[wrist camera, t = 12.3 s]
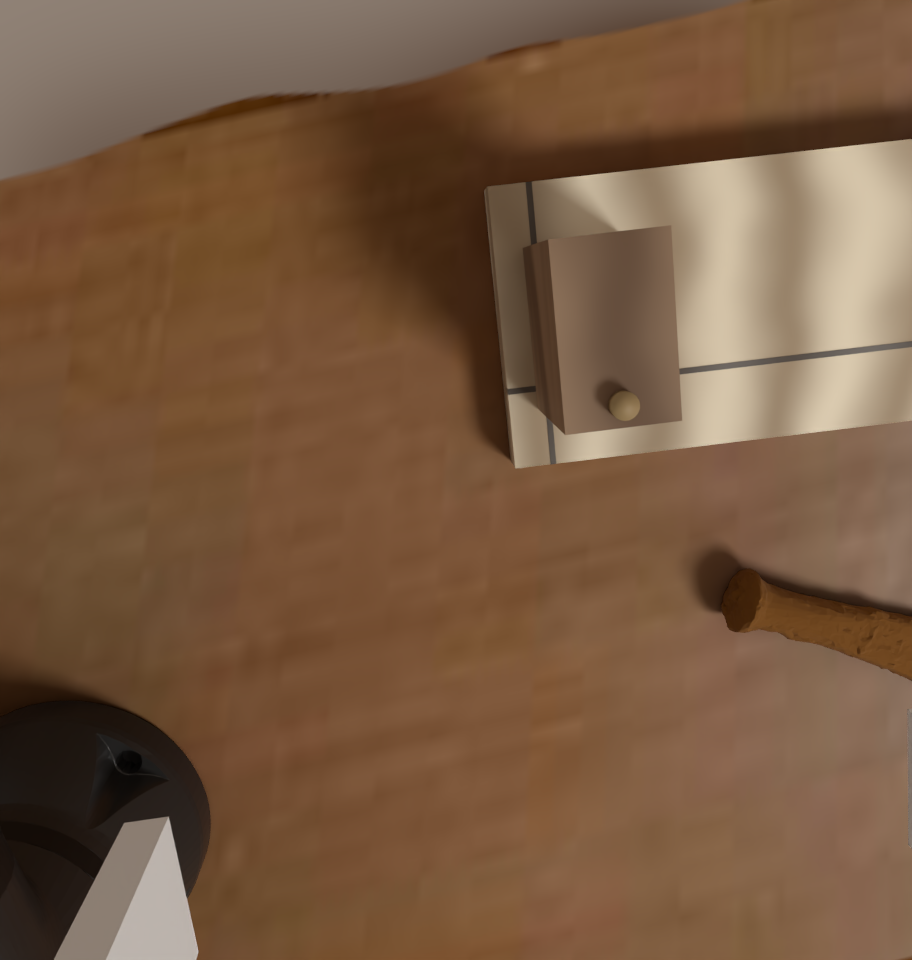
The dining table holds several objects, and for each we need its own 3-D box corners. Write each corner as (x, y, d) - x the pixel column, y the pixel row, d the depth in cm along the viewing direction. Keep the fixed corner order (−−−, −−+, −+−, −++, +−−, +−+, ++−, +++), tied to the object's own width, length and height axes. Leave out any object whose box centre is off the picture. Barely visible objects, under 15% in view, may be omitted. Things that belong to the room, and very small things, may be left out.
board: (510, 460, 47) (515, 468, 45) (483, 190, 44) (487, 186, 42) (1015, 399, 48) (1041, 405, 46) (1024, 130, 45) (1053, 123, 43)
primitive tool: (1032, 631, 51) (1076, 656, 48) (997, 714, 52) (1037, 744, 49) (729, 556, 49) (752, 576, 46) (699, 643, 51) (719, 670, 47)
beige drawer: (537, 408, 44) (567, 437, 36) (522, 247, 43) (550, 238, 34) (634, 397, 44) (686, 423, 36) (623, 236, 43) (675, 224, 34)
